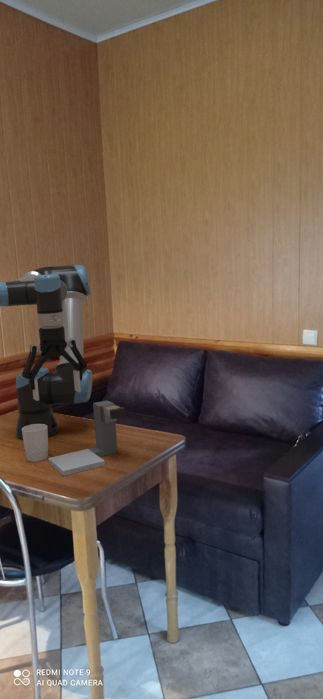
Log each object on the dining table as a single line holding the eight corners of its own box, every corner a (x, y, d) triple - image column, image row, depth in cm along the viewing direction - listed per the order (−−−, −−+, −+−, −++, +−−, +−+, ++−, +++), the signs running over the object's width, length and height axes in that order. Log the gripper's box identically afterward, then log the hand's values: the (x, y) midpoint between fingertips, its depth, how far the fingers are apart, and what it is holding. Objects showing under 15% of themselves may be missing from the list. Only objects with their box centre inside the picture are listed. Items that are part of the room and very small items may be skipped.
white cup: (20, 458, 169) (17, 427, 168) (43, 451, 174) (40, 422, 172) (30, 464, 163) (27, 433, 161) (54, 457, 168) (51, 427, 166)
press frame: (48, 462, 164) (44, 412, 161) (110, 447, 174) (107, 400, 172) (63, 476, 153) (59, 422, 150) (128, 459, 163) (125, 408, 160)
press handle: (101, 421, 165) (100, 405, 165) (114, 419, 168) (113, 402, 167) (113, 428, 159) (111, 410, 158) (126, 425, 161) (125, 408, 160)
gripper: (14, 333, 149) (22, 406, 153) (94, 322, 163) (99, 389, 167) (6, 330, 156) (13, 400, 159) (83, 320, 169) (88, 385, 173)
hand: (57, 395), depth 163 cm, fingers open, 13 cm apart
